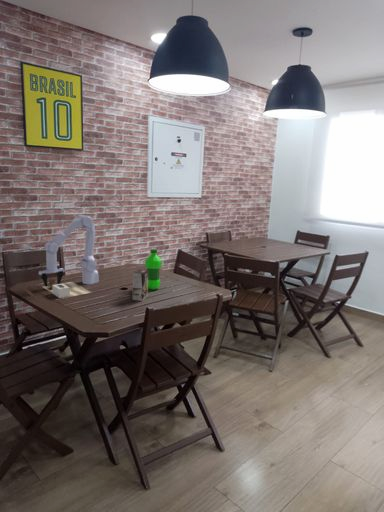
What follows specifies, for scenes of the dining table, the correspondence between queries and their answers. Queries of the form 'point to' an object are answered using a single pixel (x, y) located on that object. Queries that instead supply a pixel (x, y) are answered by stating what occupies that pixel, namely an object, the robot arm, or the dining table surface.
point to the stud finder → (61, 290)
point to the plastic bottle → (153, 269)
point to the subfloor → (72, 289)
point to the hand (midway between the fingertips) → (52, 285)
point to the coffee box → (140, 284)
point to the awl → (51, 283)
